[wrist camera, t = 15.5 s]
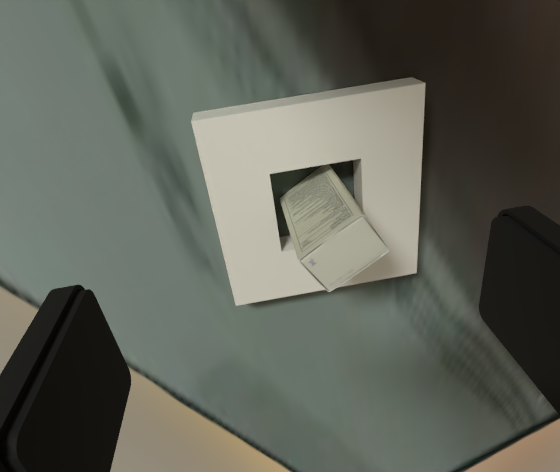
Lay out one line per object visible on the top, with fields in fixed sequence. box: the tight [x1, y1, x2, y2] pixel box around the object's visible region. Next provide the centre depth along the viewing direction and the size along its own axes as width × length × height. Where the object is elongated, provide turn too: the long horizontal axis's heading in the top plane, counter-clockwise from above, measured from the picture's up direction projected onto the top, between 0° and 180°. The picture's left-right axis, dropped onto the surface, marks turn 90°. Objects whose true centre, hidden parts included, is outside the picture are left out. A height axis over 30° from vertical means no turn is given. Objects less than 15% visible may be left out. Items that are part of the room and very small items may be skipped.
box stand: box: [191, 77, 426, 306], centre depth 41 cm, size 20×20×3 cm
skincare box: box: [280, 164, 389, 292], centre depth 37 cm, size 6×4×12 cm
